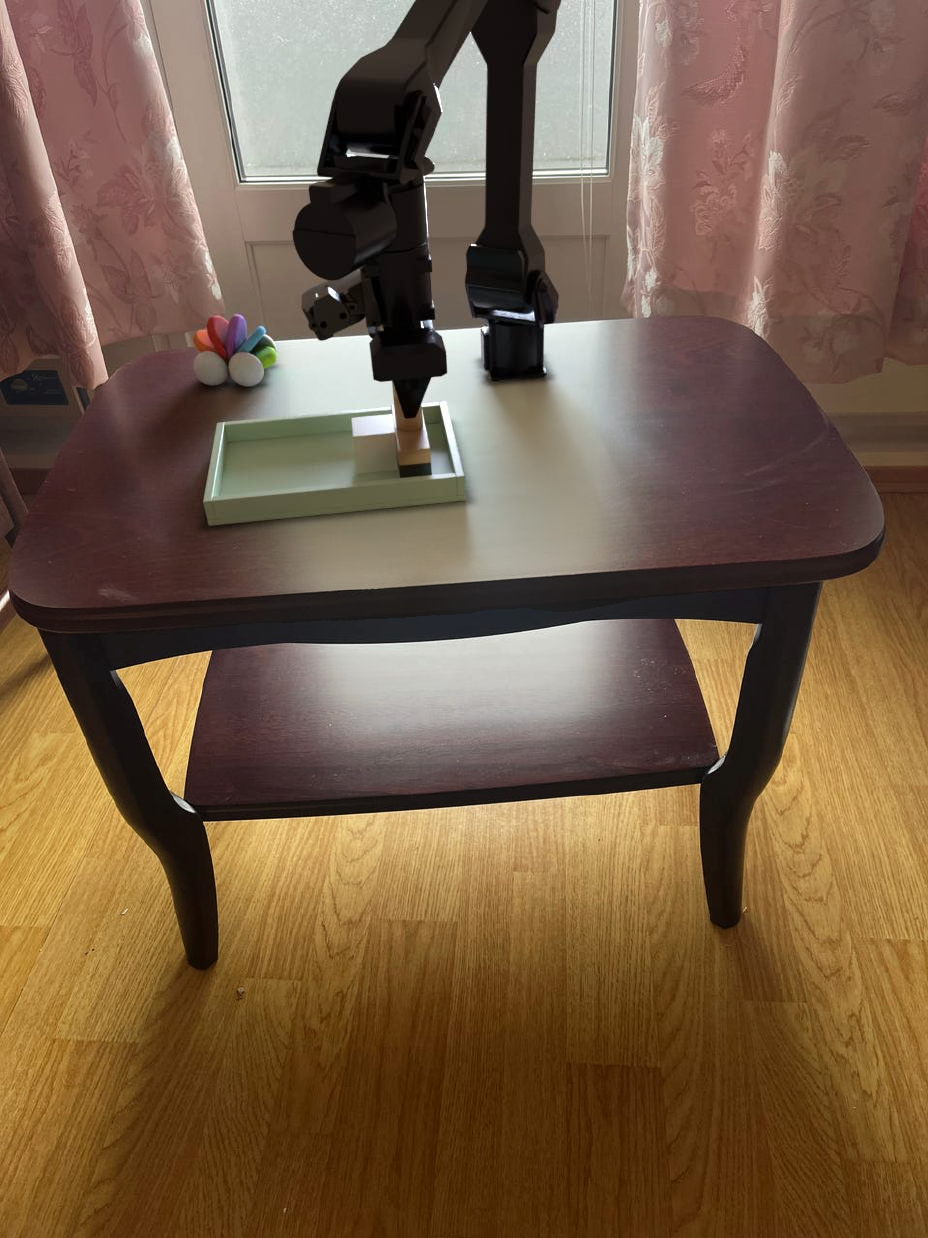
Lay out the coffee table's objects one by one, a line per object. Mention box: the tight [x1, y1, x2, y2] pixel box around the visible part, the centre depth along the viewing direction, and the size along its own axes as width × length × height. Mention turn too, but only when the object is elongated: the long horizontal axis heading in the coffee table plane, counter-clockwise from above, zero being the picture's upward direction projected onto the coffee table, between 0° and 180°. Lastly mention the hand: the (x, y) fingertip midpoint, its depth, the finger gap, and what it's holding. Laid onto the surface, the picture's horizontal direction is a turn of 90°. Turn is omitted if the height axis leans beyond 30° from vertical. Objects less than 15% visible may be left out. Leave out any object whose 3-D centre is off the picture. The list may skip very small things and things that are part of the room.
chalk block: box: [351, 414, 398, 474], centre depth 92 cm, size 4×4×4 cm
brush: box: [390, 381, 432, 478], centre depth 90 cm, size 3×10×9 cm, turn 7°
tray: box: [202, 401, 467, 527], centre depth 92 cm, size 24×16×3 cm, turn 97°
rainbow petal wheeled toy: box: [192, 313, 278, 387], centre depth 110 cm, size 8×10×7 cm
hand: (408, 410), depth 90 cm, fingers closed on brush, 3 cm apart
